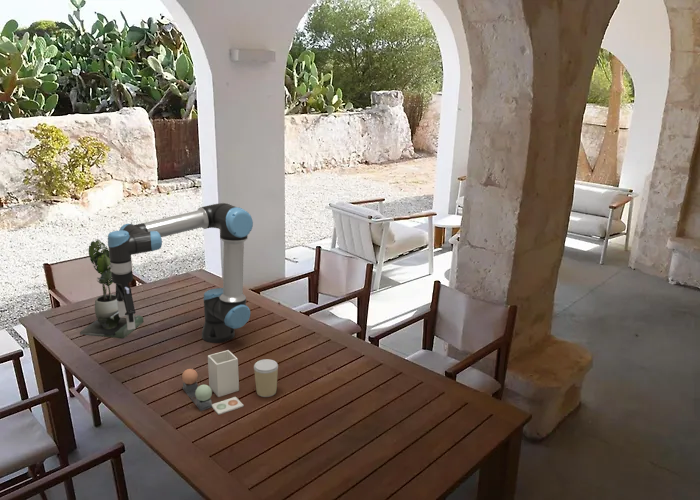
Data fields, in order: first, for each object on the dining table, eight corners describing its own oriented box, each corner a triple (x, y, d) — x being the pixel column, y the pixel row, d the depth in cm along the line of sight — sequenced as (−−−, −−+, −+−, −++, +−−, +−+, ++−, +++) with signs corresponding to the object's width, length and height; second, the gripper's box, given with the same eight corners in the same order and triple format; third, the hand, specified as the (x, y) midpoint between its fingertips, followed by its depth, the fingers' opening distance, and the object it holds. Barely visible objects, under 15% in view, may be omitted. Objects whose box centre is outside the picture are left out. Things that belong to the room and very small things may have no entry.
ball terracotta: (194, 377, 229) (193, 364, 227) (200, 384, 224) (199, 370, 222) (180, 382, 226) (179, 368, 224) (185, 389, 221) (184, 375, 219)
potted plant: (143, 321, 283) (135, 234, 270) (123, 338, 265) (114, 246, 252) (102, 318, 286) (92, 231, 273) (80, 334, 268) (68, 242, 255)
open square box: (229, 380, 232) (228, 349, 228) (238, 390, 226) (237, 358, 221) (209, 387, 227) (207, 355, 223) (218, 397, 221) (216, 364, 216)
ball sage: (208, 393, 218) (207, 379, 216) (214, 401, 213) (214, 386, 212) (193, 398, 215) (192, 384, 213) (199, 406, 210) (198, 391, 208)
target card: (235, 397, 220) (235, 396, 220) (243, 406, 215) (243, 404, 215) (211, 406, 215) (210, 404, 215) (218, 414, 209) (218, 413, 209)
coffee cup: (282, 388, 228) (282, 361, 224) (271, 400, 220) (271, 372, 216) (261, 383, 231) (260, 357, 227) (250, 395, 222) (249, 367, 219)
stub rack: (194, 384, 229) (193, 377, 228) (213, 406, 214) (212, 399, 213) (182, 388, 226) (181, 381, 225) (200, 411, 212) (200, 403, 211)
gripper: (104, 263, 225) (109, 313, 231) (119, 283, 205) (125, 337, 212) (123, 260, 229) (128, 309, 236) (140, 279, 210) (145, 332, 216)
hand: (127, 322), depth 224 cm, fingers open, 13 cm apart
